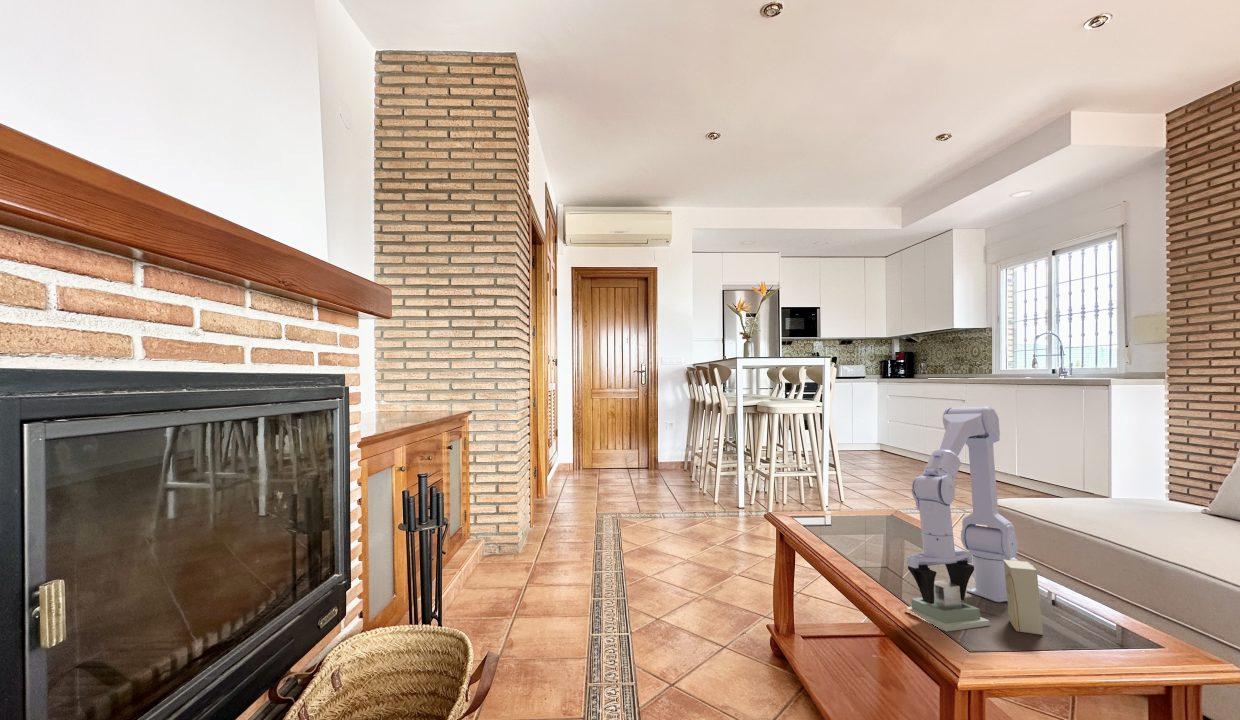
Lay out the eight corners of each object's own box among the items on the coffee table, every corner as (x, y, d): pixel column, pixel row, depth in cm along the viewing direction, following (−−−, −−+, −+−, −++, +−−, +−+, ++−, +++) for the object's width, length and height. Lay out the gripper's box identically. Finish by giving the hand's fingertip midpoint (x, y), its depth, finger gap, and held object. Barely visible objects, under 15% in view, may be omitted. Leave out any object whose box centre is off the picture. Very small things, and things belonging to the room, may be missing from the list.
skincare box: (1008, 620, 102) (1001, 558, 104) (1036, 624, 100) (1028, 561, 102) (1016, 632, 97) (1008, 566, 98) (1045, 636, 95) (1037, 569, 96)
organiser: (945, 607, 110) (943, 592, 110) (989, 625, 100) (987, 609, 100) (904, 612, 108) (903, 597, 108) (946, 631, 98) (944, 615, 98)
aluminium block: (946, 609, 106) (943, 580, 107) (962, 616, 102) (959, 585, 103) (930, 611, 105) (927, 581, 106) (946, 618, 101) (943, 587, 102)
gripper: (949, 527, 111) (955, 590, 110) (893, 531, 108) (899, 597, 107) (978, 533, 105) (985, 601, 103) (919, 538, 101) (926, 609, 100)
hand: (943, 600), depth 104 cm, fingers open, 7 cm apart
